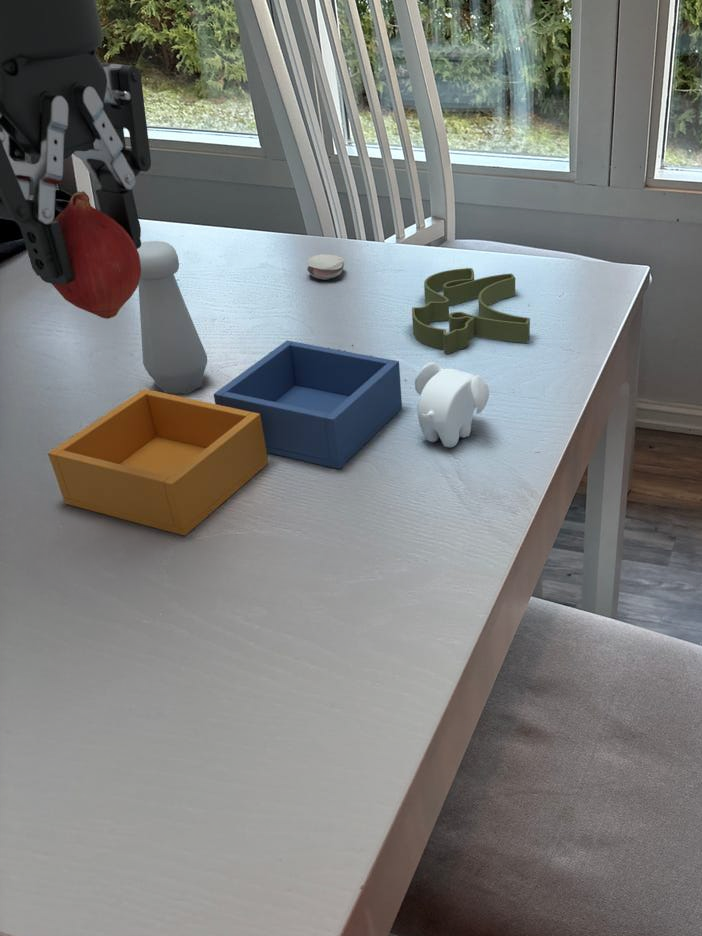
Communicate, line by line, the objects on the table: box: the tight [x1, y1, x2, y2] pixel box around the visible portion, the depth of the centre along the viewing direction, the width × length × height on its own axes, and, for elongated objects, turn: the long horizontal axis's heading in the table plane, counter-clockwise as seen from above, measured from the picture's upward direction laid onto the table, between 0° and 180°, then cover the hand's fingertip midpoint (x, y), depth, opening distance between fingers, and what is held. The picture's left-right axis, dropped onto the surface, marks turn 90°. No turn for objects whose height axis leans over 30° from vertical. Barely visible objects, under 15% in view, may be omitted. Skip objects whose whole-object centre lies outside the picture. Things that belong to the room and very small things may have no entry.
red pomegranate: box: [50, 191, 141, 320], centre depth 62 cm, size 6×6×8 cm
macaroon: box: [306, 253, 345, 281], centre depth 112 cm, size 4×5×2 cm
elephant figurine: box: [414, 361, 490, 448], centre depth 82 cm, size 7×8×6 cm
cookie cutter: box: [411, 267, 531, 355], centre depth 102 cm, size 18×12×2 cm, turn 5°
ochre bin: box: [47, 388, 269, 537], centre depth 77 cm, size 12×12×5 cm
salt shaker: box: [137, 240, 208, 395], centre depth 87 cm, size 6×6×13 cm
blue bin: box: [213, 340, 403, 470], centre depth 84 cm, size 12×12×5 cm
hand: (93, 263), depth 62 cm, fingers closed on red pomegranate, 6 cm apart
